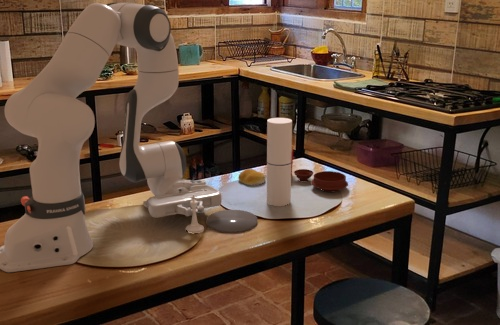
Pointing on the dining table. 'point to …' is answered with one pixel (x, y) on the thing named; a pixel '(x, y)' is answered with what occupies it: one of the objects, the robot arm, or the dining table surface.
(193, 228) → the chess piece
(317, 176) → the pottery
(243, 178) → the bread roll
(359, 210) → the dining table surface
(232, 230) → the charcoal plate
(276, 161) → the cylindrical container
